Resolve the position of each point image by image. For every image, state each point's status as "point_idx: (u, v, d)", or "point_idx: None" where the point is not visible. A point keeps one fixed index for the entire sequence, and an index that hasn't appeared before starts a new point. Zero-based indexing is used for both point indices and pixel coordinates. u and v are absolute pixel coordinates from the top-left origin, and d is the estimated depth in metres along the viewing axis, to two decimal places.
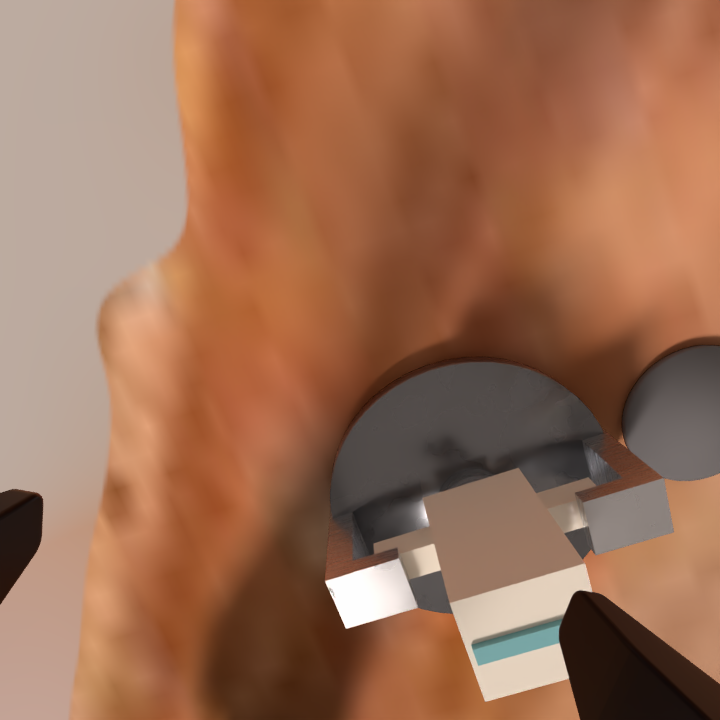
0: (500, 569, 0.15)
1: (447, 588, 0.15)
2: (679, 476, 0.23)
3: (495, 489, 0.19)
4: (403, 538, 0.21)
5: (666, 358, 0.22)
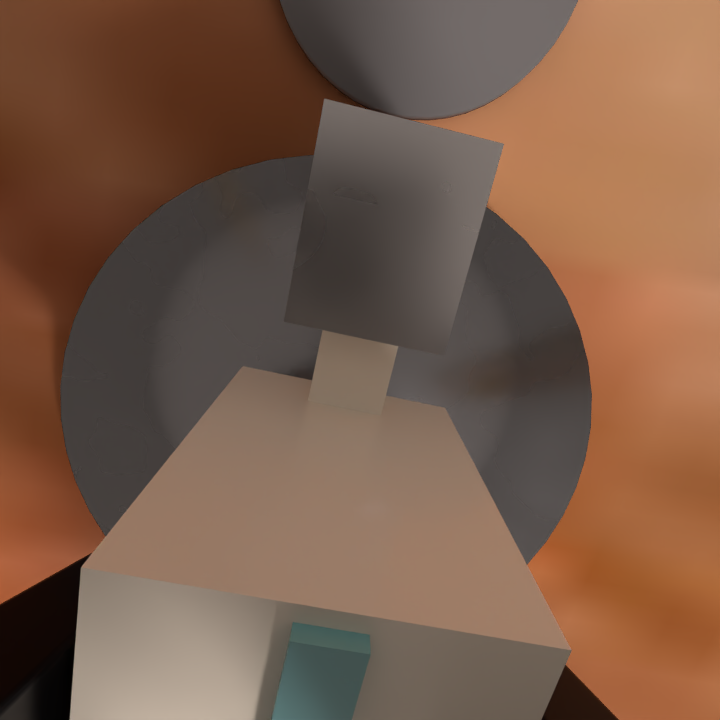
0: None
1: None
2: (540, 43, 0.10)
3: None
4: None
5: None
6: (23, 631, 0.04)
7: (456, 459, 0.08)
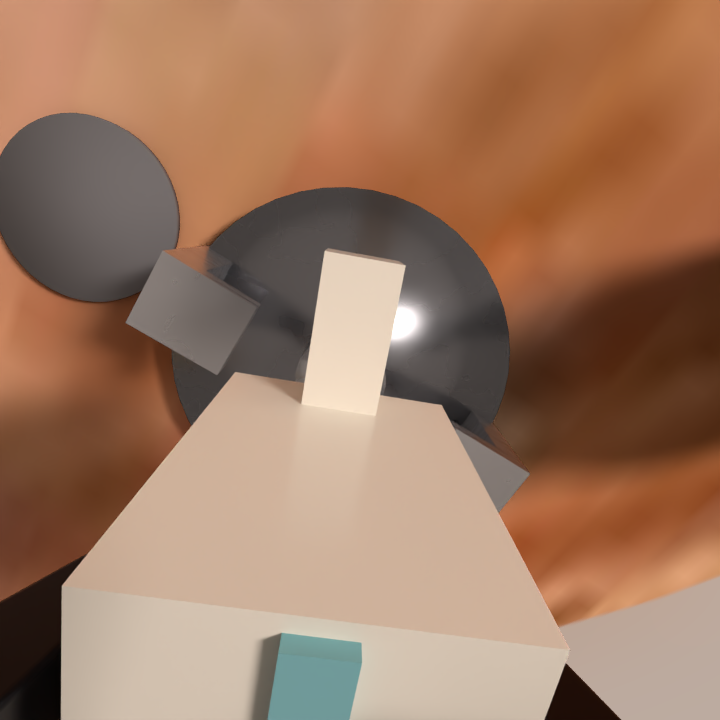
0: None
1: None
2: (151, 164, 0.18)
3: None
4: None
5: None
6: (19, 630, 0.04)
7: (452, 457, 0.07)
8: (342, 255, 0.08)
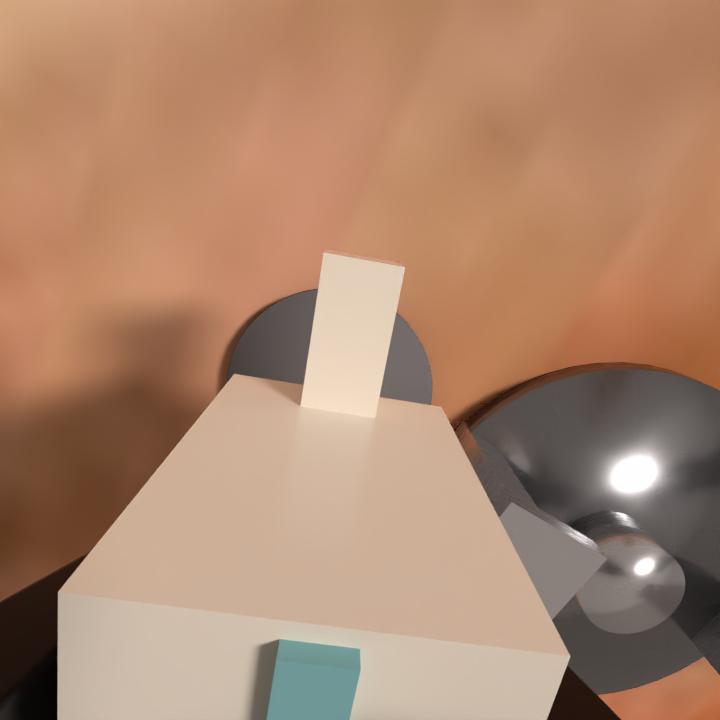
0: None
1: None
2: (411, 342, 0.15)
3: None
4: None
5: None
6: (19, 630, 0.04)
7: (452, 460, 0.07)
8: (341, 257, 0.08)
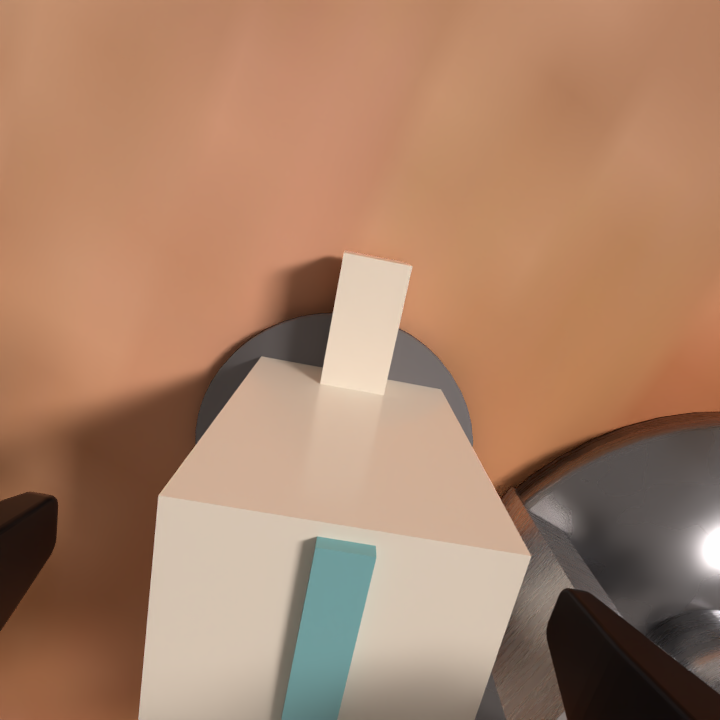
0: None
1: None
2: (446, 387, 0.11)
3: None
4: None
5: None
6: None
7: (449, 429, 0.09)
8: (358, 256, 0.09)
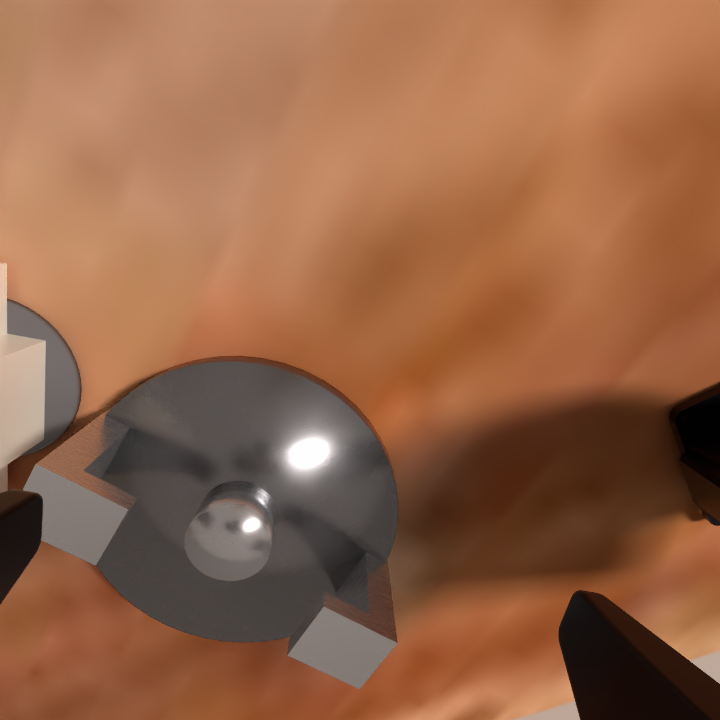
0: None
1: None
2: (49, 339, 0.19)
3: None
4: None
5: None
6: None
7: None
8: None
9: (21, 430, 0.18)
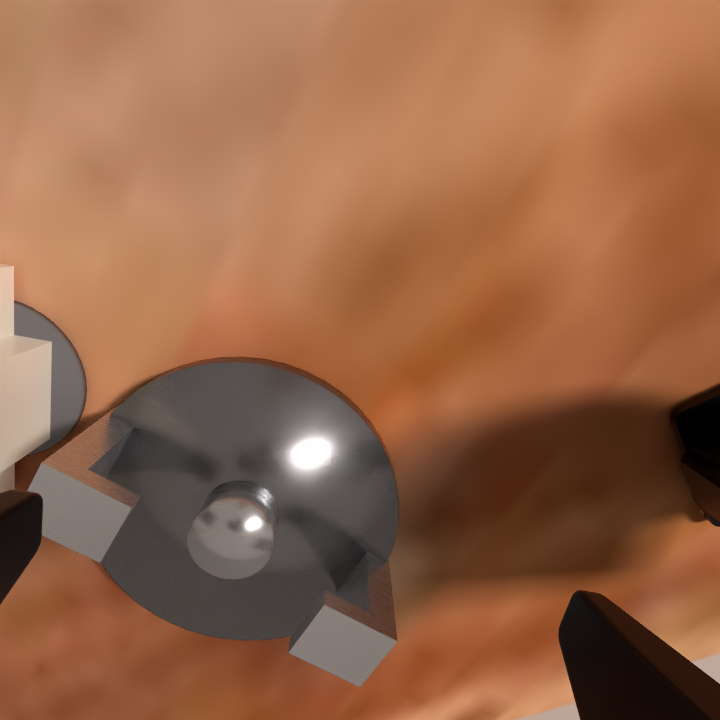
0: None
1: None
2: (55, 340, 0.19)
3: None
4: None
5: None
6: None
7: None
8: None
9: (27, 429, 0.18)
